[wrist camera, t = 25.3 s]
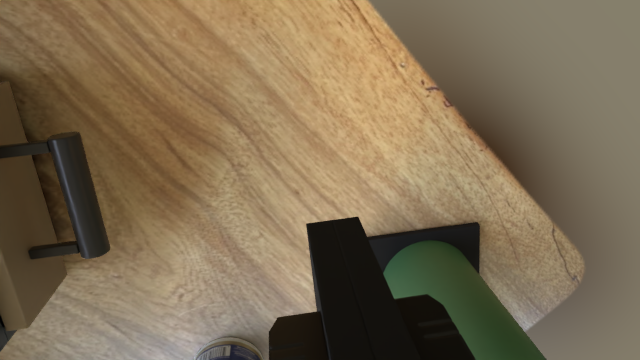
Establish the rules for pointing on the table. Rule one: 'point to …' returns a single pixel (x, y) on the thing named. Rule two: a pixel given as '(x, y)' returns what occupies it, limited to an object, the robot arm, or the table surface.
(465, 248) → the coaster
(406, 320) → the robot arm
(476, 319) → the can
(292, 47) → the table surface
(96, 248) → the drawer
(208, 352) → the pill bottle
